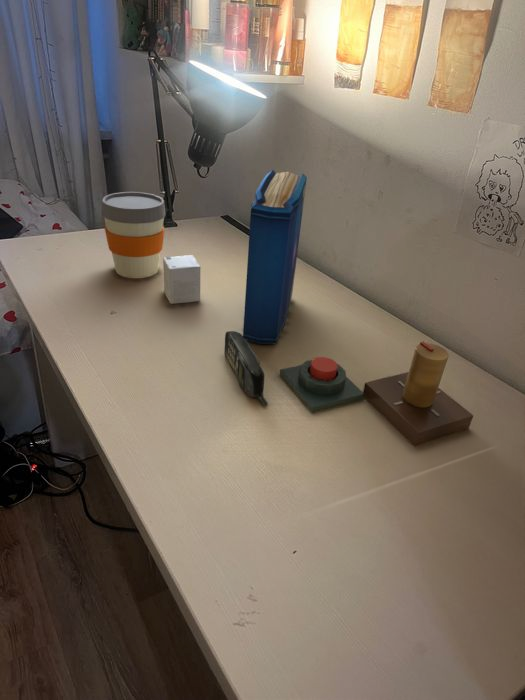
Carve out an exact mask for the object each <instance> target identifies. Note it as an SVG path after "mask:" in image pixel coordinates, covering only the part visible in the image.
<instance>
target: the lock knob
mask: <svg viewBox="0 0 525 700" xmlns="http://www.w3.org/2000/svg"><path fill="white" fill-rule="evenodd" d="M449 357H450V355H449V352H448V351H447V350H446V349H445V348H444V347H442V346H440V345H438V344H435V343H429V342H425V341H419V344H417V345H416V346H415V348H414V352H413V356H412V359H411V363H410V366H409V370H408V372H409V373H408V376H407V380H406V383H405V387H404V390H403V398H404V399H405V401H406V402H408V403H409V404H411V405H413V406H417V407H429V406H431V405H432V404H433V402H434V399H435V396H436V393H437V390H438V388H440V383H441V380H442V377H443V374H444V371H445V368H446V365H447V363H448V359H449Z"/></svg>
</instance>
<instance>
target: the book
mask: <svg viewBox="0 0 525 700" xmlns="http://www.w3.org/2000/svg"><path fill="white" fill-rule="evenodd" d="M307 178H308V177H307V175H305V174H304V173H302V174H300V175H297V174H294V173H292V172H290V171H283V172H276V171H275V170H274V169H272V170H270V171H268V172H267V173H266V174H265V176H264V177H263V179H261V182H260V183H259V185H258V187H257V189H256V191H255V193H254V194H255V195H254V201H253V202H251V203H250V219H249V233H248V250H247V264H246V265H247V266H246V281H245V297H244V314H243V328H242V336H243V337H244V338H245V340H246V341H248V342H252V343H255V344H258V345H274V344H277V343H278V340H279V339H280V338H281V333H282V332H281V331H282V330H283V328H284V327H285V324H286V321H287V317H288V313H289V311H290V306H291V301H292V297H293V291H294V284H295V275H296V267H297V259H298V251H299V244H300V234H301V227H302V218H303V210H304V203H305V195H306V189H307V188H306V187H307Z"/></svg>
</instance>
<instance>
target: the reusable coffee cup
mask: <svg viewBox="0 0 525 700" xmlns="http://www.w3.org/2000/svg"><path fill="white" fill-rule="evenodd" d="M101 202H102V203H101V205H102V206H101V215H102V217H103V218H104V222H105V225H104V233H105V237H106V241H107V247H108V250H109V251H110V252H111V255H112V260H113V263H114V269H115V273H117V274H118V276H120V277H124V278H128V279H145V278H150V277H152V276H154V275H156V274H157V273H158V271H159V267H160V257H161V252H162V250H163V247H164V238H165V229H166V228H165V226H164V221H165V217H166V215H167V213H166V206H165V200H164V198H163V197H161V196H159V195H157V194H153V193H148V192H143V191H142V192H141V191H123V192H120V191H119V192H114V193H109V194H107V195H104V197H102V199H101Z"/></svg>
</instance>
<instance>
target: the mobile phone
mask: <svg viewBox="0 0 525 700" xmlns="http://www.w3.org/2000/svg"><path fill="white" fill-rule="evenodd" d="M224 336H225V337H224V356H225V357H226V359H227V362H228V363H229V364H230V366H231V368H232V370H233V371H234V373H235V375H236V379H237V380H238V384H239V386H240V388H241V389H242V390H243V392H245V394H247V396H249V397H250V398H258V400H260V402H261V404H262V405H263V406H264V407H267V406H268V404H269V403H268V401H267V400H266V398H265V397H264V387H265V372H264V370H263V367H262V366H261V362H260V361H261V360H260V359H259V358H258V357H257V355H256V352H254V350H253V349H252V347H251V345H250V344H249V341H248V340H246V339H245V338H244V337H243V333H240V332H238V331H234V330H231V331H225V335H224Z"/></svg>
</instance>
